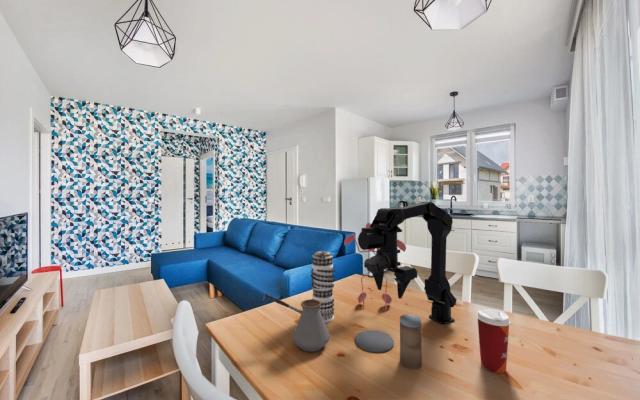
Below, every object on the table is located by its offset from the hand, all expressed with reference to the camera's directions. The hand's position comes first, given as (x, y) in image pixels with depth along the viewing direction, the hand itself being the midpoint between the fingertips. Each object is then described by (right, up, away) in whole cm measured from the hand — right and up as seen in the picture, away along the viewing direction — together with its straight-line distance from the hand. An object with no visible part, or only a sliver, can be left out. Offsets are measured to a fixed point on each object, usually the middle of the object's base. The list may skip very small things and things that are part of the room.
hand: (389, 293), depth 86 cm
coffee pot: (-30, -14, -4) cm, 34 cm away
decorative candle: (-22, -14, +14) cm, 29 cm away
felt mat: (-6, -14, -3) cm, 15 cm away
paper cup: (+24, -14, -16) cm, 32 cm away
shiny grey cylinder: (+2, -14, -14) cm, 20 cm away
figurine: (+1, -14, +27) cm, 31 cm away
